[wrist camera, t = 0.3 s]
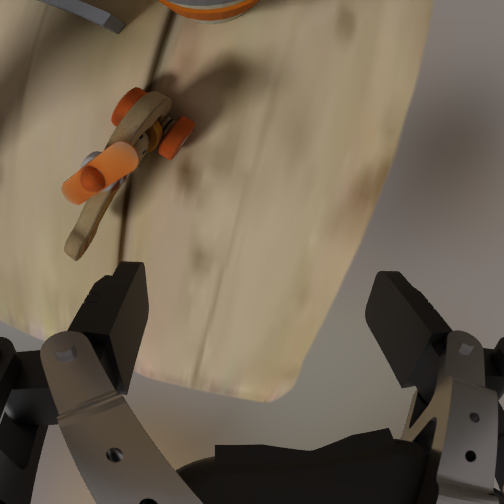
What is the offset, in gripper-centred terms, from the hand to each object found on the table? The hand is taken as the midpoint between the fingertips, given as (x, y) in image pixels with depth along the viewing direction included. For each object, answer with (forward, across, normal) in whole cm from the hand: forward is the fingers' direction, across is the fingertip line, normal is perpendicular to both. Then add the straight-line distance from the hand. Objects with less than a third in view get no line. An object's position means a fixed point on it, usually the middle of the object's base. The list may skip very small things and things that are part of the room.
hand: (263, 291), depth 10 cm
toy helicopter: (+28, +13, +1) cm, 30 cm away
